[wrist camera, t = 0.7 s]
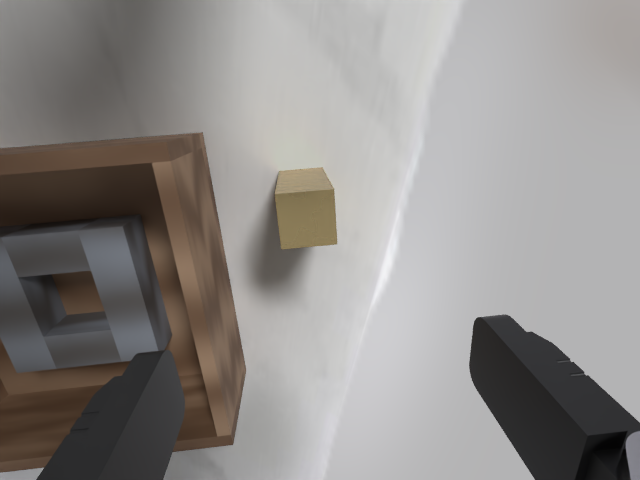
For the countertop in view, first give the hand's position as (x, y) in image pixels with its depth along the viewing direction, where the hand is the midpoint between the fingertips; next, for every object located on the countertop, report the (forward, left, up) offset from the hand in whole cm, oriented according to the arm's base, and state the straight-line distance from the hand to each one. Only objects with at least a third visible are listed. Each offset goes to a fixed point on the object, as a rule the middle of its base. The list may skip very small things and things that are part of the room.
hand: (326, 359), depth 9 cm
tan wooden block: (0, 0, -20) cm, 20 cm away
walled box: (+6, -18, -20) cm, 28 cm away
